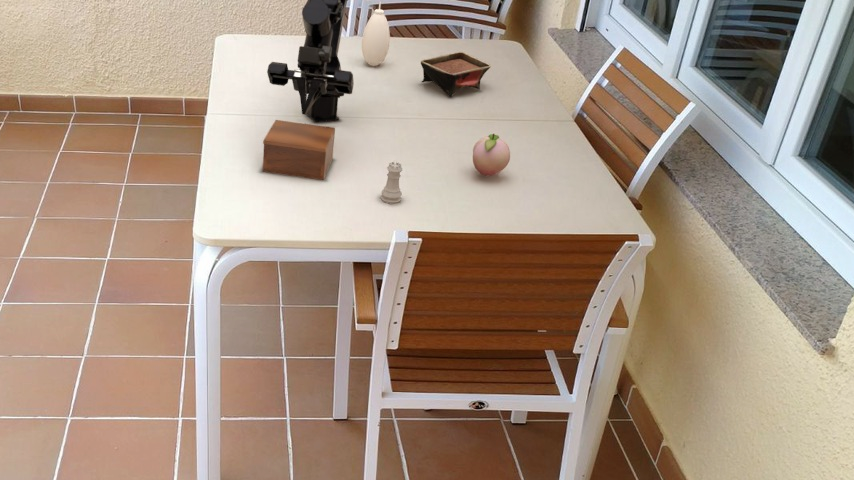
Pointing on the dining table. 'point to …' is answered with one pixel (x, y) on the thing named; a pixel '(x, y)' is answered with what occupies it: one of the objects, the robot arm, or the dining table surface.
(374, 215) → the dining table surface
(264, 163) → the bin
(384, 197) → the rook chess piece
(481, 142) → the decorative fruit
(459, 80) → the square footed planter
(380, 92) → the dining table surface
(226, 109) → the dining table surface
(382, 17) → the cream tall oval piece
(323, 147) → the bin lid
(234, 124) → the dining table surface
